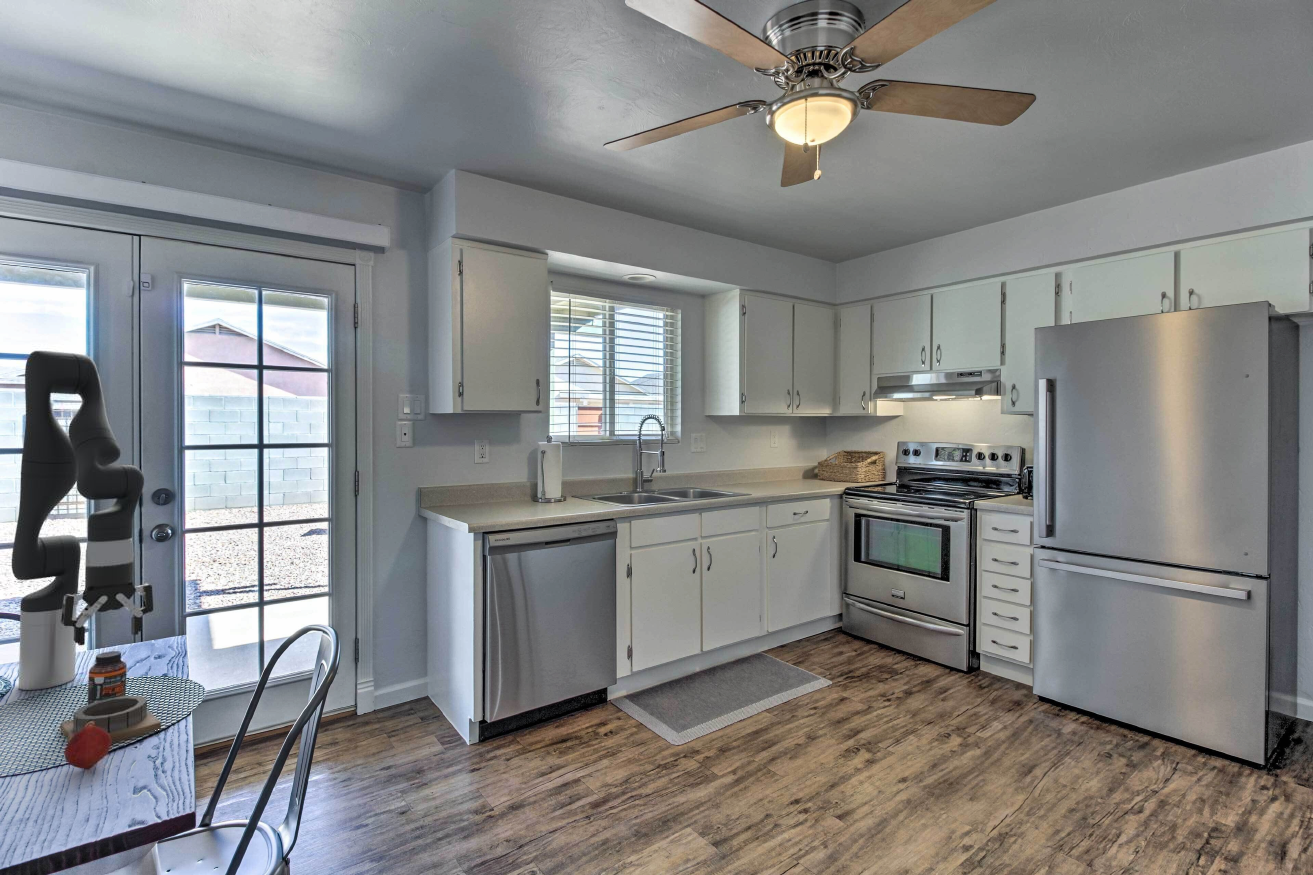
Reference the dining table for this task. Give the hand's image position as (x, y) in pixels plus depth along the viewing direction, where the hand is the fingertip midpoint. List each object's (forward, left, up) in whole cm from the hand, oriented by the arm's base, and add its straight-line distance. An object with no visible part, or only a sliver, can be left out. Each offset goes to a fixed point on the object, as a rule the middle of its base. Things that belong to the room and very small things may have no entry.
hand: (108, 639), depth 130 cm
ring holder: (+13, -2, -14) cm, 19 cm away
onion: (+28, -8, -15) cm, 32 cm away
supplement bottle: (0, 0, -15) cm, 15 cm away
